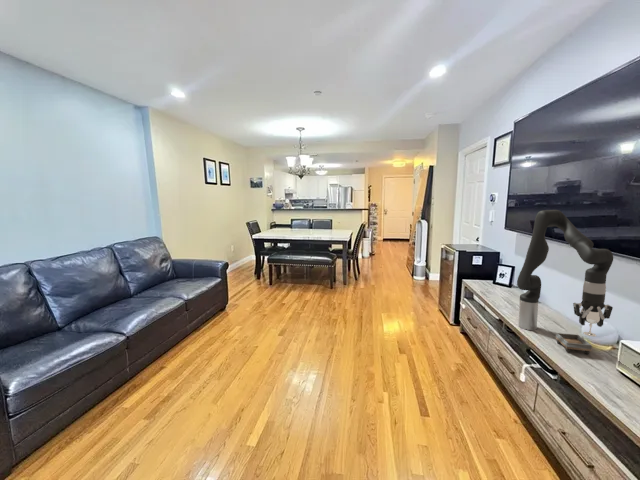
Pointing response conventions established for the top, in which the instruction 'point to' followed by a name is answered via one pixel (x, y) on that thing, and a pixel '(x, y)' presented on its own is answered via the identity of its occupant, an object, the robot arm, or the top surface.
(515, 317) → the top surface
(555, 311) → the top surface
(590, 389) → the top surface
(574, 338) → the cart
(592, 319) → the wineglass
